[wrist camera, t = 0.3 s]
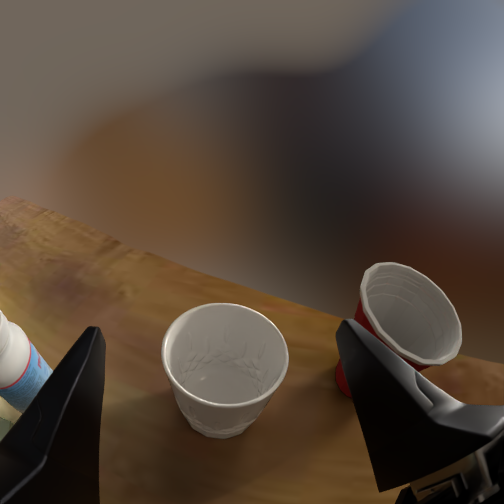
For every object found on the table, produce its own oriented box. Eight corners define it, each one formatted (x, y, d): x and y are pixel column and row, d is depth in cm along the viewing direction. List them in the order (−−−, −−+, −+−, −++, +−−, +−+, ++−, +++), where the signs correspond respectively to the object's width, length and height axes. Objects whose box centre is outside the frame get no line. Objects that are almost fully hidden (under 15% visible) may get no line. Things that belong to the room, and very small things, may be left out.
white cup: (158, 414, 20) (135, 360, 14) (205, 357, 26) (207, 286, 20) (236, 460, 18) (253, 432, 12) (276, 393, 24) (306, 333, 18)
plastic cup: (378, 441, 20) (460, 383, 13) (293, 386, 25) (337, 306, 18) (411, 369, 27) (470, 299, 20) (342, 325, 32) (383, 246, 25)
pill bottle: (75, 387, 20) (23, 312, 13) (50, 435, 15) (-22, 376, 9) (35, 362, 20) (-14, 286, 14) (10, 403, 16) (-54, 336, 9)
